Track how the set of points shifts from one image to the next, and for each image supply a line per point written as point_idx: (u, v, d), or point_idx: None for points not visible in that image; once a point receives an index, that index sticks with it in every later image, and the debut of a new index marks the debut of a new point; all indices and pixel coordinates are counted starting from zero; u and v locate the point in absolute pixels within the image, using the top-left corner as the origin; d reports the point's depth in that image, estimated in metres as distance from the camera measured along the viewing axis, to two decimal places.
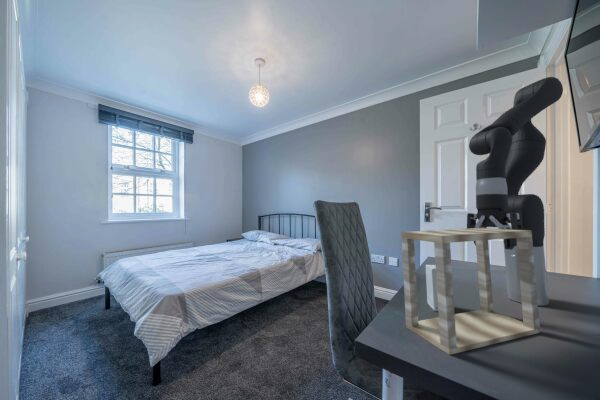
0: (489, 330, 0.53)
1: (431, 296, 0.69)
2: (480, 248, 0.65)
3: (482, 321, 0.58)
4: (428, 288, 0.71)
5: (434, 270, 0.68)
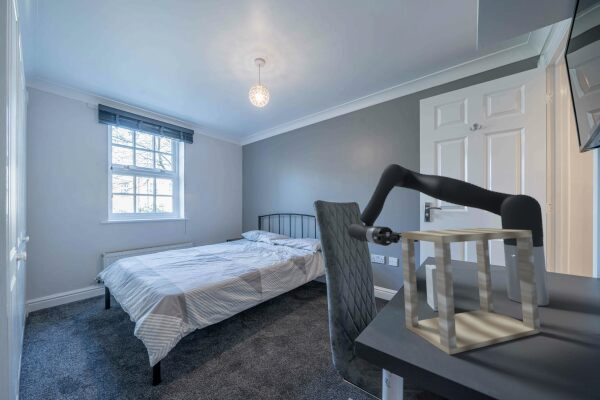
0: (489, 330, 0.53)
1: (431, 296, 0.69)
2: (480, 248, 0.65)
3: (482, 321, 0.58)
4: (428, 288, 0.71)
5: (434, 270, 0.68)
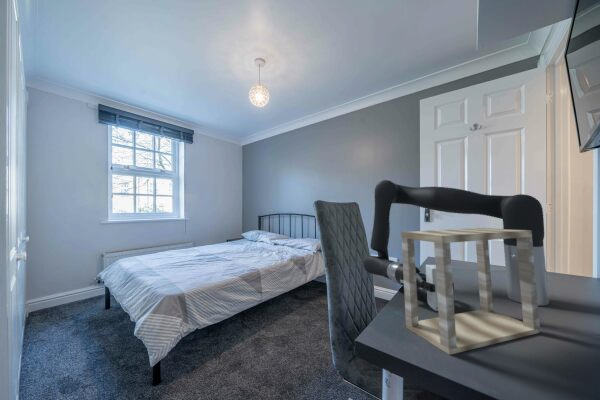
0: (489, 330, 0.53)
1: (431, 296, 0.69)
2: (480, 248, 0.65)
3: (482, 321, 0.58)
4: None
5: (434, 270, 0.68)
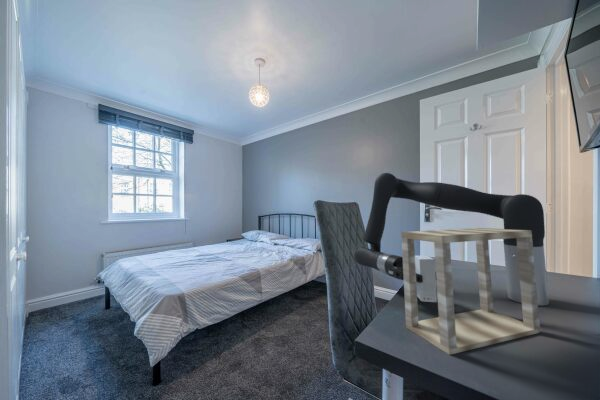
0: (489, 330, 0.53)
1: (419, 287, 0.68)
2: (480, 248, 0.65)
3: (482, 321, 0.58)
4: None
5: (422, 260, 0.67)
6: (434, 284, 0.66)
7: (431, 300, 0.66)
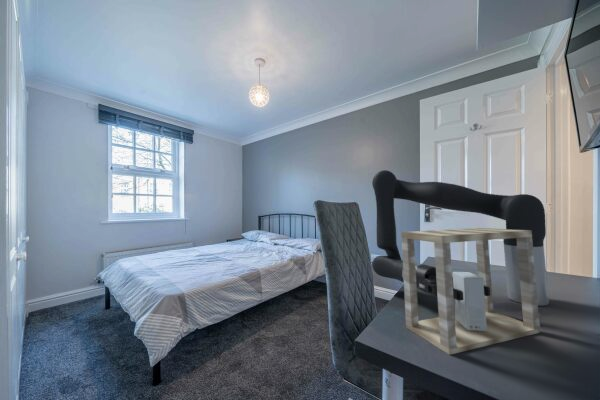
0: (489, 330, 0.53)
1: (462, 311, 0.55)
2: (480, 248, 0.65)
3: None
4: (458, 301, 0.57)
5: (467, 279, 0.54)
6: (483, 309, 0.53)
7: (480, 329, 0.53)
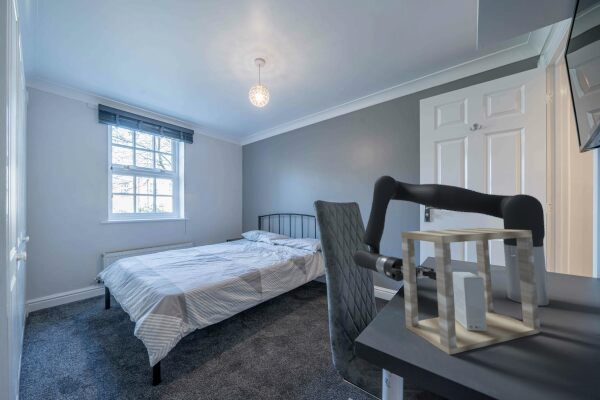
0: (489, 330, 0.53)
1: (462, 311, 0.55)
2: (480, 248, 0.65)
3: None
4: (458, 301, 0.57)
5: (467, 279, 0.54)
6: (483, 309, 0.53)
7: (480, 329, 0.53)
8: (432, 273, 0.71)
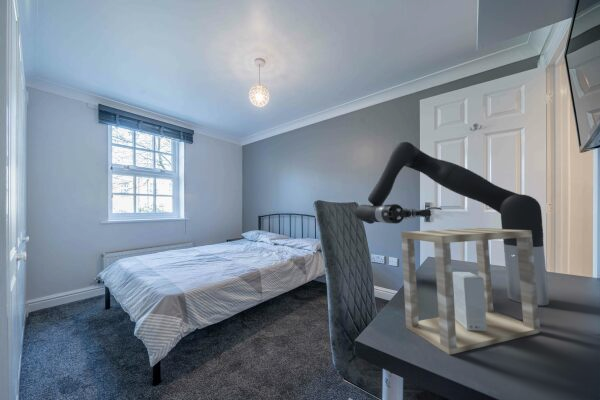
0: (489, 330, 0.53)
1: (462, 311, 0.55)
2: (480, 248, 0.65)
3: None
4: (458, 301, 0.57)
5: (467, 279, 0.54)
6: (483, 309, 0.53)
7: (480, 329, 0.53)
8: (423, 211, 0.82)
